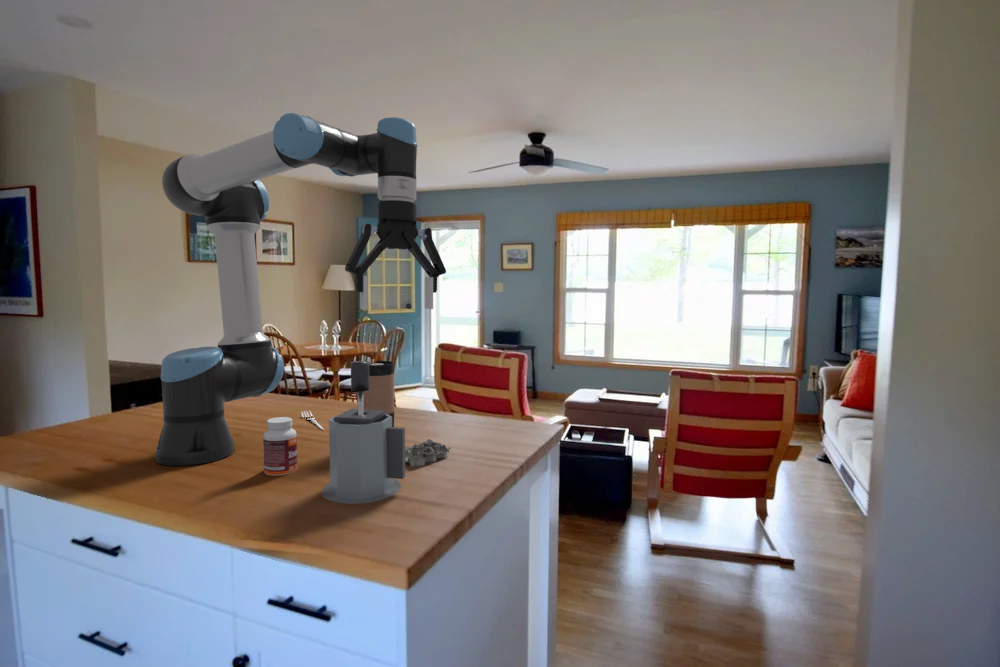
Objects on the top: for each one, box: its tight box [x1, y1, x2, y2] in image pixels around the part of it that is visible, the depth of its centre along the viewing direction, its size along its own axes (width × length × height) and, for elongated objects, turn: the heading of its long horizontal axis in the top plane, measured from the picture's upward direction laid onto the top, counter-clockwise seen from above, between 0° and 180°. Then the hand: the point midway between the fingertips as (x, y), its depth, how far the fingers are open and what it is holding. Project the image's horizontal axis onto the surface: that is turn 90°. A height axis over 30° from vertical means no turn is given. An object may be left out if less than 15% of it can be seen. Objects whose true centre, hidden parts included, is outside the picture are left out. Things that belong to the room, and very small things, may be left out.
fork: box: [300, 410, 324, 430], centre depth 148 cm, size 3×20×2 cm, turn 33°
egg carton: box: [405, 438, 451, 468], centre depth 117 cm, size 11×8×4 cm
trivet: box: [321, 478, 402, 505], centre depth 99 cm, size 14×14×1 cm
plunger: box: [350, 360, 370, 425], centre depth 98 cm, size 8×8×21 cm
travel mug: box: [363, 360, 395, 427], centre depth 125 cm, size 8×8×20 cm
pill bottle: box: [262, 416, 298, 476], centre depth 108 cm, size 6×6×11 cm
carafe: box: [328, 408, 406, 500], centre depth 98 cm, size 13×10×14 cm
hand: (397, 309), depth 109 cm, fingers open, 13 cm apart
